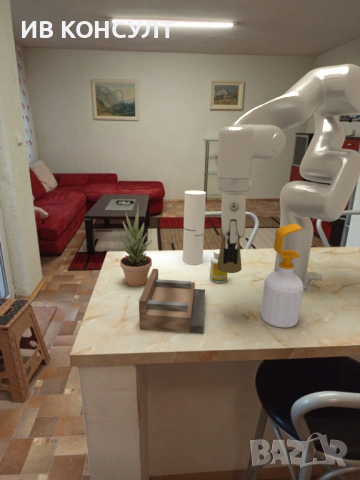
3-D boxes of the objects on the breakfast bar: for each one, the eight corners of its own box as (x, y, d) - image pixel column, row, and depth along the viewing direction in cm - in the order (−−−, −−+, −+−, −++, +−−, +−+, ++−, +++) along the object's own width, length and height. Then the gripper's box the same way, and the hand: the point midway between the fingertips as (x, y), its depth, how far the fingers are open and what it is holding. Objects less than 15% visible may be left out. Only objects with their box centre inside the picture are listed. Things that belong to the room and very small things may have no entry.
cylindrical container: (184, 256, 118) (185, 190, 110) (203, 258, 117) (206, 190, 109) (181, 264, 112) (183, 193, 103) (201, 265, 111) (205, 194, 102)
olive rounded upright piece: (240, 263, 80) (243, 221, 77) (242, 273, 75) (245, 229, 71) (216, 262, 81) (218, 221, 77) (216, 272, 75) (218, 228, 72)
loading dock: (204, 295, 90) (206, 271, 88) (203, 333, 74) (204, 305, 71) (153, 292, 92) (152, 268, 89) (139, 328, 75) (138, 300, 72)
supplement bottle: (206, 277, 102) (208, 249, 99) (220, 274, 104) (222, 247, 101) (215, 284, 97) (217, 255, 94) (230, 281, 99) (232, 253, 96)
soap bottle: (304, 327, 77) (321, 231, 69) (267, 329, 76) (280, 231, 68) (288, 308, 85) (302, 220, 77) (255, 309, 84) (266, 220, 76)
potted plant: (128, 292, 92) (125, 208, 84) (116, 279, 99) (112, 202, 91) (158, 284, 97) (158, 205, 89) (145, 272, 104) (143, 198, 96)
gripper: (255, 192, 63) (248, 275, 69) (247, 178, 78) (242, 247, 85) (217, 192, 63) (214, 274, 70) (216, 178, 79) (214, 246, 85)
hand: (229, 258), depth 77 cm, fingers closed on olive rounded upright piece, 4 cm apart
